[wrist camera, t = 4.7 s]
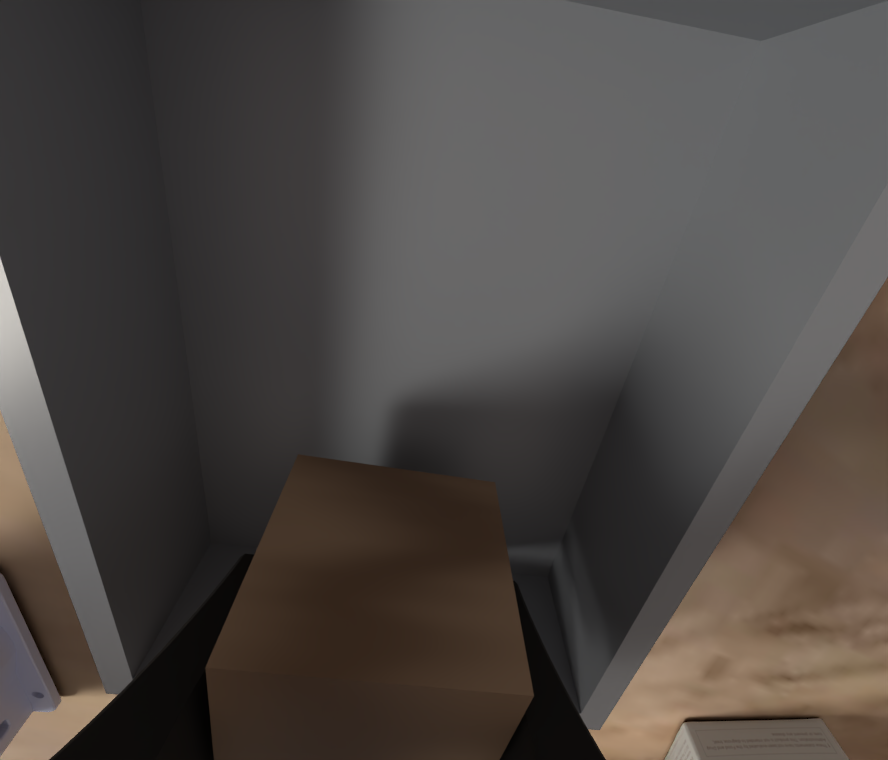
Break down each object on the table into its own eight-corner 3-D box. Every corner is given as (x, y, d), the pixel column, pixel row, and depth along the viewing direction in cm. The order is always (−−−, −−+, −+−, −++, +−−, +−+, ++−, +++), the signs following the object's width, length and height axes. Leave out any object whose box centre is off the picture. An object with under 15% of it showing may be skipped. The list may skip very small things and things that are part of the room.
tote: (558, 579, 17) (599, 729, 13) (198, 542, 16) (106, 693, 12) (797, 6, 9) (1145, -128, 5) (94, -146, 8) (-345, -513, 3)
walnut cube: (495, 482, 11) (533, 695, 7) (454, 604, 14) (464, 823, 9) (297, 454, 11) (205, 667, 6) (290, 586, 13) (218, 810, 9)
